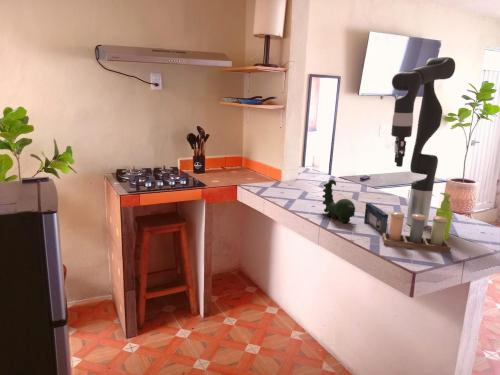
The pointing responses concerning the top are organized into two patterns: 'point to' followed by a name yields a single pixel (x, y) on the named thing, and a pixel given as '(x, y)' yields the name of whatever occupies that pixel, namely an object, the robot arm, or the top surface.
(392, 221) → the terracotta jar
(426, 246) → the walnut spice rack
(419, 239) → the slate blue jar
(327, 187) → the toy figurine
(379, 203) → the top surface
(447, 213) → the soap dispenser
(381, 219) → the vhs cassette tape
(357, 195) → the top surface
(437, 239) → the olive jar
